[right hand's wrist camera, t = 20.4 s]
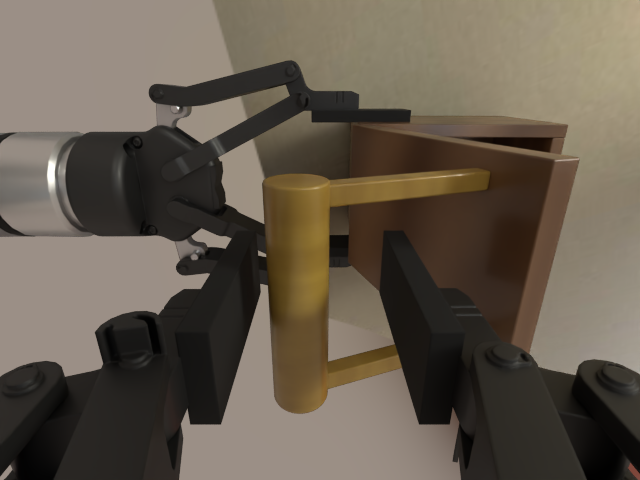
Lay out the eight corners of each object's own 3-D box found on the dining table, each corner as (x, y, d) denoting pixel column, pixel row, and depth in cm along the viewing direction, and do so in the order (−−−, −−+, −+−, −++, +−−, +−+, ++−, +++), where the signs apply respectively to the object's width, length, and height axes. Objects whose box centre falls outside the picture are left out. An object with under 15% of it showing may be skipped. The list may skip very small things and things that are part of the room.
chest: (502, 116, 31) (568, 124, 22) (484, 217, 34) (536, 259, 26) (350, 115, 31) (359, 123, 23) (347, 216, 35) (354, 257, 26)
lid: (581, 157, 11) (288, 180, 8) (519, 395, 14) (296, 475, 11) (368, 124, 22) (216, 128, 19) (361, 259, 26) (231, 281, 23)
